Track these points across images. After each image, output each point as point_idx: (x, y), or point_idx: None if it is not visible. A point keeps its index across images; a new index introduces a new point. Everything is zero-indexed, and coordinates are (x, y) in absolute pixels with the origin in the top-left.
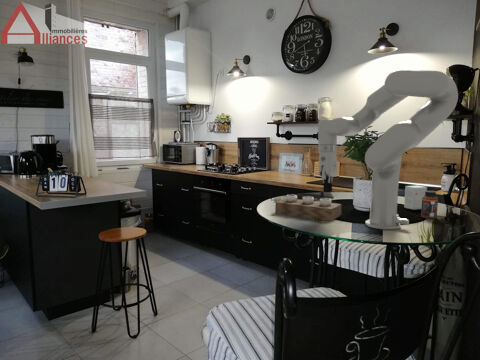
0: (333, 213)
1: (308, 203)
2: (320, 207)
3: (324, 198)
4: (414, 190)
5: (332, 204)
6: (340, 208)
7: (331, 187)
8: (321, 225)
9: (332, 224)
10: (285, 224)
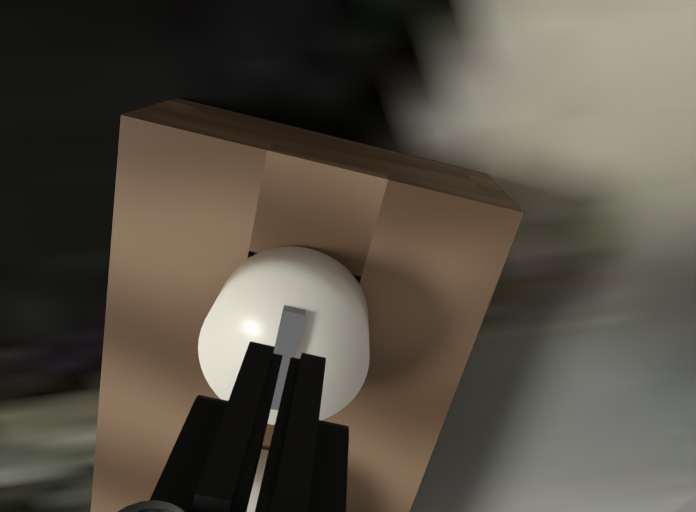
0: (439, 176)
1: None
2: (461, 348)
3: (280, 377)
4: None
5: (206, 234)
6: (180, 116)
7: (254, 409)
8: (686, 241)
9: (628, 146)
10: (692, 496)
